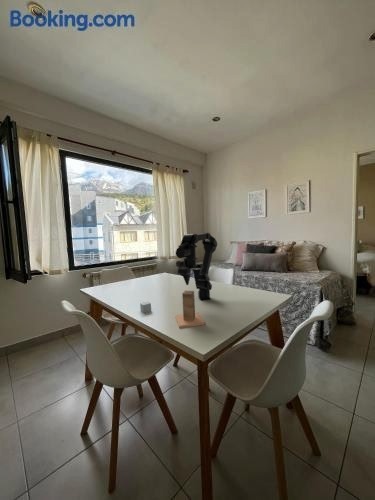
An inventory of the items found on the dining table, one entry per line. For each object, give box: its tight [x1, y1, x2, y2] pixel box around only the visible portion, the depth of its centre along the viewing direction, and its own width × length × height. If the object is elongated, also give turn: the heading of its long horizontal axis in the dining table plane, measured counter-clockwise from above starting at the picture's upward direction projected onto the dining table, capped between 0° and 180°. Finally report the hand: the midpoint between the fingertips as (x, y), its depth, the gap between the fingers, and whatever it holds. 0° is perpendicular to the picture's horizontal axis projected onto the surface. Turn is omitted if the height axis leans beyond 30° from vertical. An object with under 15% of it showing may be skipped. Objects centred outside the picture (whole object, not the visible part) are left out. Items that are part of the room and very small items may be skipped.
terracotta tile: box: [174, 312, 206, 329], centre depth 98 cm, size 12×12×1 cm
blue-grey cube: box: [139, 300, 152, 314], centre depth 112 cm, size 4×4×4 cm
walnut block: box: [181, 290, 196, 321], centre depth 97 cm, size 4×4×13 cm
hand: (191, 283), depth 117 cm, fingers open, 9 cm apart
